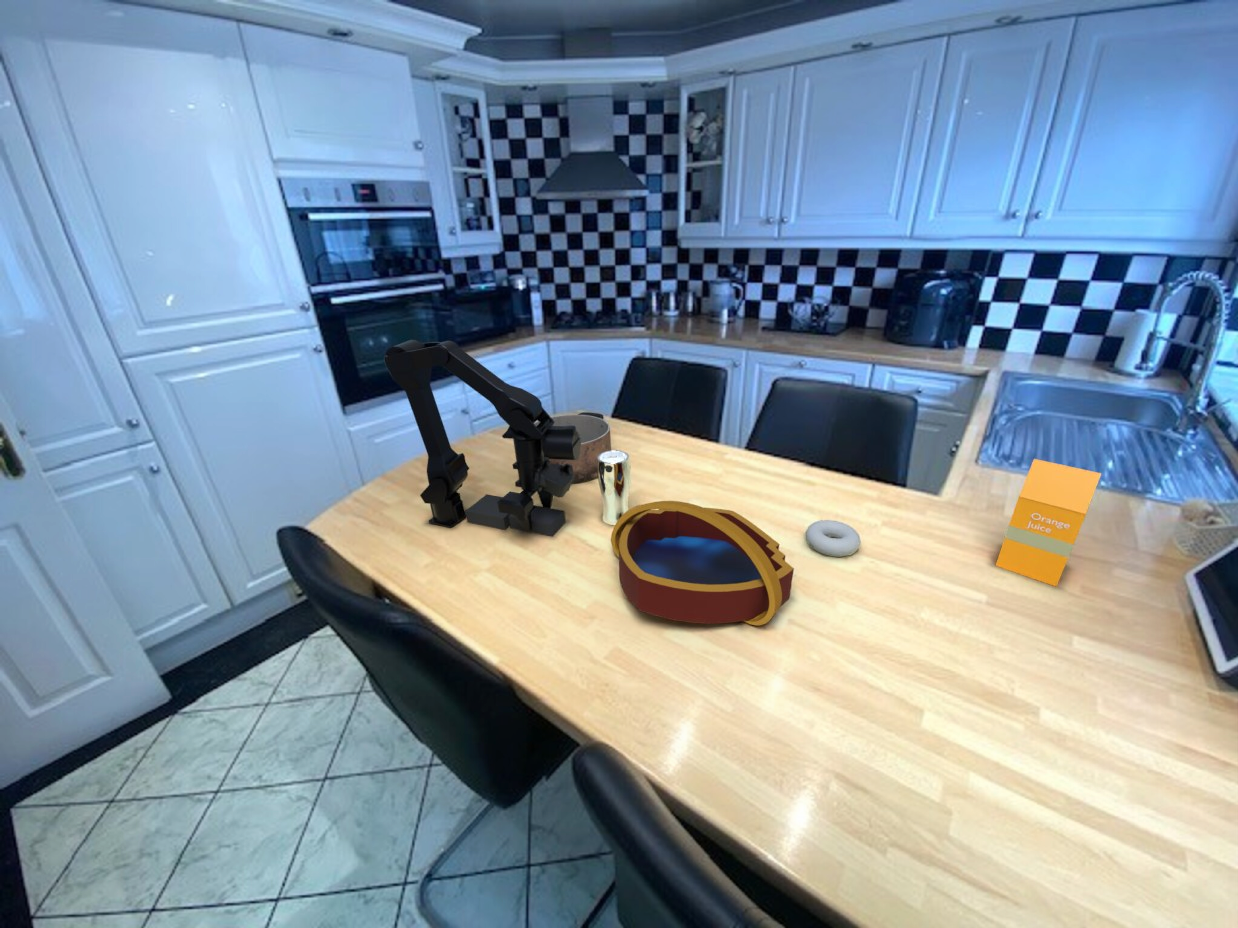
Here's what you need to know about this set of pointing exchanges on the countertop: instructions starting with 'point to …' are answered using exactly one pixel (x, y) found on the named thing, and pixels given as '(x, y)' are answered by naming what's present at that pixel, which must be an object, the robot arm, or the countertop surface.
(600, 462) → the beer glass
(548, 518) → the black flat notched block
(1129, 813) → the countertop surface
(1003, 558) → the orange juice
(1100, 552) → the countertop surface
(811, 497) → the countertop surface
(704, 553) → the decorative basket
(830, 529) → the donut
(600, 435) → the cooking pot
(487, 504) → the dock pad
